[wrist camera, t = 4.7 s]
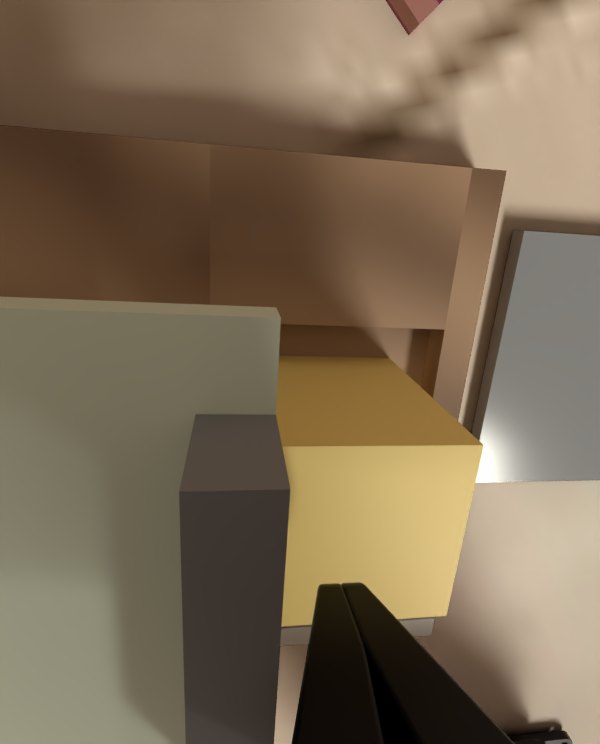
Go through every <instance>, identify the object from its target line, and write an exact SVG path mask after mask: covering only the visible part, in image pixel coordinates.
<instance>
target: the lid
mask: <svg viewBox="0 0 600 744" xmlns="http://www.w3.org/2000/svg"><path fill="white" fill-rule="evenodd" d="M280 325H281V317H280V315H279V313H278V310H277V308H276V307H254V306H228V305H202V304H177V303H151V302H126V301H100V300H75V299H49V298H23V297H0V744H274V731H275V716H276V701H277V686H278V671H279V656H280V640H281V625H282V610H283V595H284V580H285V565H286V550H287V535H288V520H289V504H290V484H289V479H288V474H287V469H286V464H285V459H284V453H283V448H282V443H281V438H280V433H279V428H278V423H277V417H276V404H277V384H278V364H279V345H280Z"/></svg>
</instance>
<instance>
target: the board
mask: <svg viewBox="0 0 600 744" xmlns="http://www.w3.org/2000/svg"><path fill="white" fill-rule="evenodd" d="M505 176H506V171H502V170H491V169H480V168H469V167H458V166H447V165H436V164H425V163H414V162H403V161H391V160H380V159H369V158H358V157H347V156H336V155H325V154H314V153H303V152H292V151H281V150H270V149H259V148H248V147H237V146H226V145H215V144H204V143H192V142H181V141H170V140H159V139H148V138H137V137H126V136H115V135H104V134H93V133H82V132H71V131H60V130H49V129H38V128H27V127H16V126H5V125H0V297H23V298H49V299H75V300H100V301H126V302H151V303H177V304H202V305H228V306H254V307H276V308H277V310H278V313H279V315H280V317H281V325H280V345H279V356H316V357H359V358H390V359H391V360H392V361H393V362H394V363H395V364H396V365H397V366H398V367H400V368H401V369H402V370H403V371H404V372H405V373H406V374H407V375H408V376H409V377H410V378H411V379H413V380H414V381H415V382H416V383H417V384H418V385H419V386H420V387H421V388H422V389H423V390H424V391H426V392H427V393H428V394H429V395H430V396H431V397H432V398H433V399H434V400H435V401H436V402H437V403H439V404H440V405H441V406H442V407H443V408H444V409H445V410H446V411H447V412H448V413H449V414H450V415H452V416H453V417H454V418H455V419H456V420H457V421H458V418H459V413H460V408H461V402H462V397H463V392H464V387H465V382H466V377H467V372H468V366H469V361H470V356H471V351H472V346H473V341H474V335H475V330H476V325H477V320H478V315H479V310H480V305H481V299H482V294H483V289H484V284H485V279H486V274H487V269H488V263H489V258H490V253H491V248H492V243H493V238H494V232H495V227H496V222H497V217H498V212H499V207H500V202H501V196H502V191H503V186H504V181H505ZM398 620H399V621H400V623H401V624H402V625H403V626H404V627H405V628H406V629H407V630H408V631H409V632H410V633H411V634H412V635H413V636H414V637H416V636H430V635H431V634H432V629H433V624H434V620H435V618H434V617H421V618H406V619H398ZM311 626H312V625H298V626H283V627H281V640H280V646H290V645H304V644H309V638H310V632H311Z"/></svg>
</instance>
